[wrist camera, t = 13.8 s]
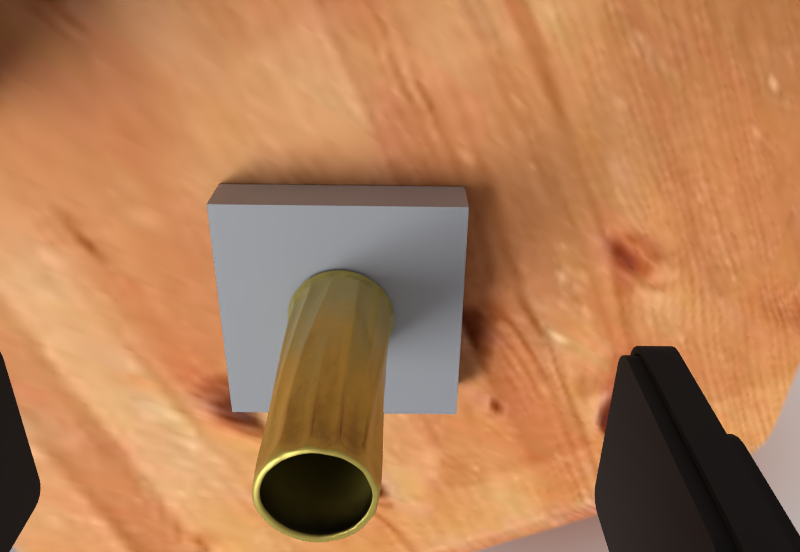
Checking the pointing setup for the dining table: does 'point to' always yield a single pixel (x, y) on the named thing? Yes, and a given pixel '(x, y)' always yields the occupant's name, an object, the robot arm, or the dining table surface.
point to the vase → (327, 411)
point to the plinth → (350, 251)
